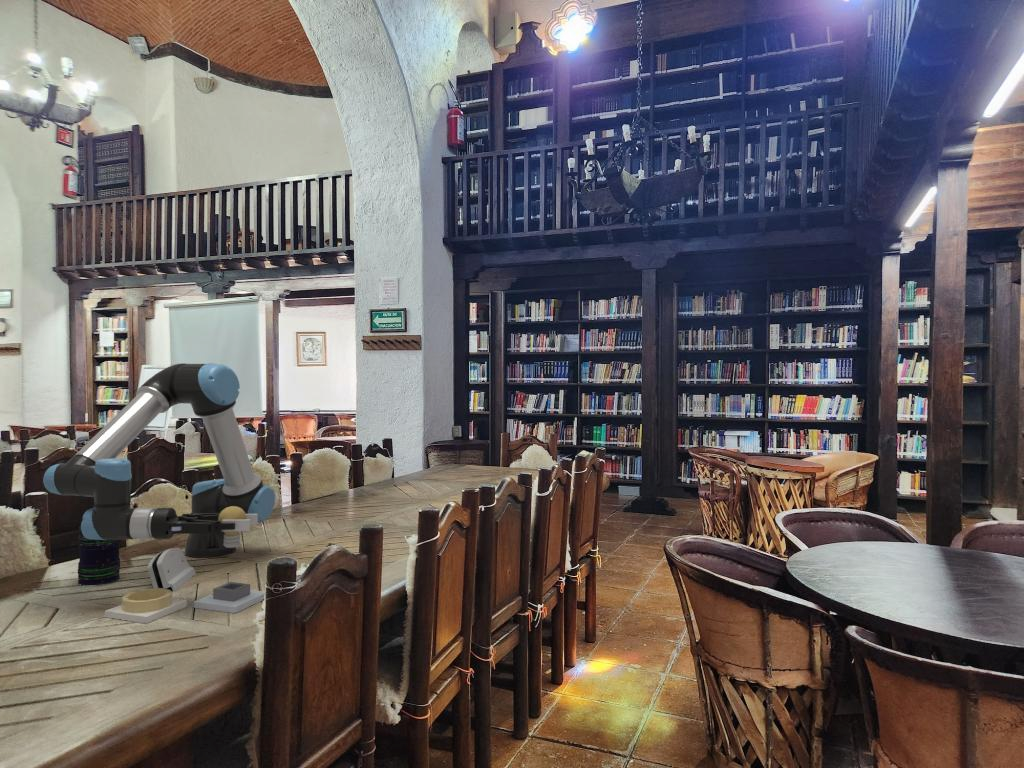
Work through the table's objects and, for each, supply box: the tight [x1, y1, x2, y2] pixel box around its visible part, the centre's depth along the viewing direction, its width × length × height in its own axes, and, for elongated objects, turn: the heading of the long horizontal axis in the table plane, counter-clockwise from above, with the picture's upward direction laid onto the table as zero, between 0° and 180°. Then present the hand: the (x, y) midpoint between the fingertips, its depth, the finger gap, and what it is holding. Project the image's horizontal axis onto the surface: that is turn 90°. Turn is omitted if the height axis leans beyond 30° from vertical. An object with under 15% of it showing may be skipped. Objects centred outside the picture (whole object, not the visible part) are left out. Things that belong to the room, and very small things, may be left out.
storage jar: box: [77, 525, 122, 586], centre depth 177 cm, size 10×10×15 cm
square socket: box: [193, 581, 265, 614], centre depth 161 cm, size 12×12×4 cm
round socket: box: [104, 588, 188, 624], centre depth 153 cm, size 12×12×4 cm
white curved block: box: [147, 547, 197, 592], centre depth 176 cm, size 17×5×10 cm, turn 8°
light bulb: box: [218, 506, 246, 548], centre depth 161 cm, size 6×6×10 cm
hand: (253, 522), depth 161 cm, fingers closed on light bulb, 6 cm apart
